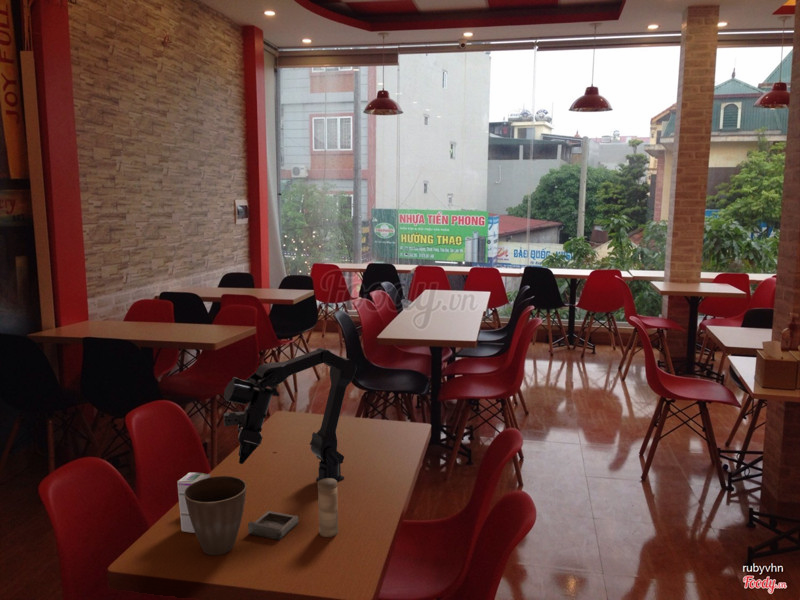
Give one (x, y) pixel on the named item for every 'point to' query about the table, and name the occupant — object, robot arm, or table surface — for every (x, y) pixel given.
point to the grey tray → (273, 525)
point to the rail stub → (328, 507)
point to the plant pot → (216, 511)
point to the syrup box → (182, 486)
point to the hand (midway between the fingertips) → (240, 459)
